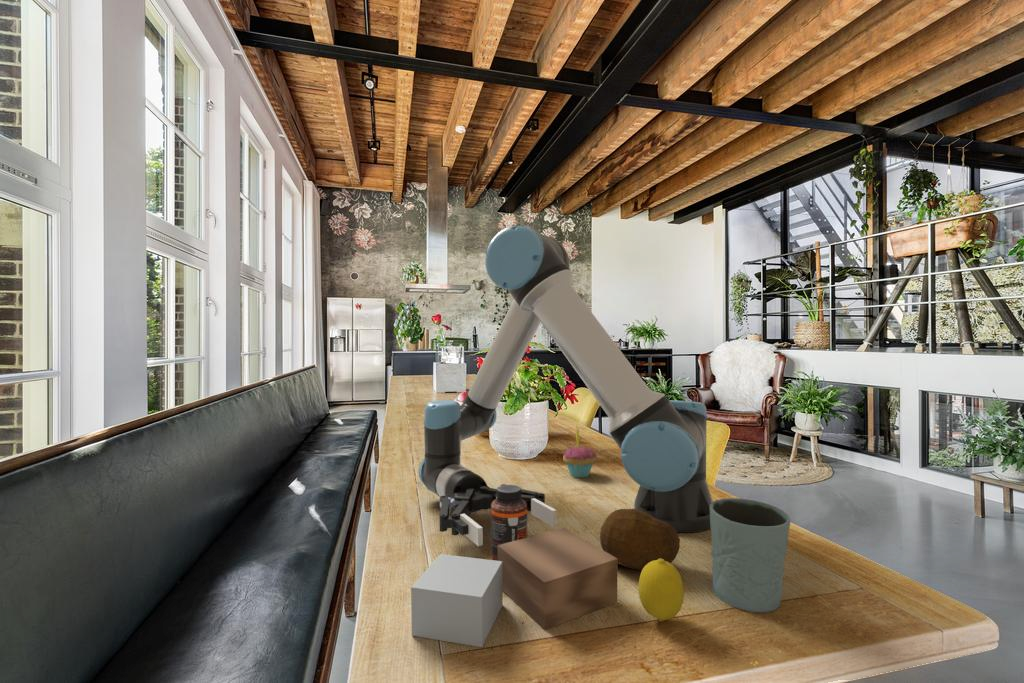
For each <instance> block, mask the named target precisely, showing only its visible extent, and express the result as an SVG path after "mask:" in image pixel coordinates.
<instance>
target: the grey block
mask: <svg viewBox="0 0 1024 683" xmlns="http://www.w3.org/2000/svg"><path fill="white" fill-rule="evenodd" d="M503 593H504V592H503V583H502V561H496V560H494V559H484V558H479V557H478V558H476V557H469V556H459V555H454V554H453V555H451V554H445V553H439V554H438V555H437V557H436V558H435V559H434V560H433V561H432V563H431V564H430V565H429V566H428V567H427V569H425V571H424V572H423V573H422V574H421V575H420V577H418V579H417V580H416V581H415V582H414V583H413V585H412V586H411V588H410V594H411V595H410V596H411V599H410V600H411V603H410V604H411V609H410V610H411V636H412V637H418V638H425V639H430V640H435V641H442V642H448V643H453V644H454V643H455V644H458V645H459V644H460V645H466V646H472V647H478V648H483V646H484V644H485V642H486V640H487V638H488V636H489V634H490V632H491V630H492V628H493V626H494V623H495V622H496V621H497V620H496V619H497V618H498V616H499V614H500V612H501V609H502V608H503V605H504V604H503V603H504V602H503V600H504V599H503Z"/></svg>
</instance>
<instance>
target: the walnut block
mask: <svg viewBox="0 0 1024 683" xmlns="http://www.w3.org/2000/svg"><path fill="white" fill-rule="evenodd" d="M497 550H498V561H502V583H503V593H505V595H506V596H508V597H509V598H510V599H511V600H512V601H513V602H514V603H515V604H516V605H517V606H518V607H519V608H520V609H521V610H523V612H525V613H526V614H527V616H529V617H530V618H531V619H532V620H533V621H534V622H535V623H536V624H538V625H539V627H541V629H543V630H544V631H546V630H548V629H551V628H553V627H556V626H559V625H561V624H564V623H566V622H569V621H572V620H574V619H577V618H580V617H582V616H586V615H588V614H590V613H593V612H595V611H597V610H601V609H603V608H605V607H608V606H610V605H613V604H616V603H618V565H619V564H618V559H617V558H616V557H614V556H612V555H610V554H609V553H607V552H605V551H604V550H603V549H602V548H600V547H598V546H597V545H595V544H593V543H592V542H590V541H588V540H587V539H584V538H583V537H582V536H580V535H578V534H576V533H574V532H573V531H571V530H569V529H568V528H566V527H562V528H558V529H554V530H550V531H546V532H543V533H539V534H538V533H537V534H535V535H532V536H527V538H523V539H519V540H516V541H512V542H508V543H504V544H501V545H497Z"/></svg>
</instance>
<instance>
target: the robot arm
mask: <svg viewBox="0 0 1024 683" xmlns="http://www.w3.org/2000/svg"><path fill="white" fill-rule="evenodd" d="M485 256H486V257H485V260H484V261H485V262H484V264H485V269H486V272H487V275H488V277H489V278H490V281H492V282H493V283H494V284H495V285H497V287H499V288H500V289H503V290H505V291H506V290H507V291H508V292H509V294H510V295H511V296H512V298H513V299H512V302H511V304H510V306H509V308H508V310H507V312H506V314H505V316H504V318H503V320H502V322H501V325H500V326H499V328H498V331H497V333H496V335H495V336H494V338H493V340H492V343H491V345H490V347H489V349H488V351H487V353H486V355H485V357H484V359H483V361H482V364H480V368H479V370H478V372H477V374H476V375H475V378H474V379H473V381H472V384H471V386H470V388H469V390H468V392H467V394H466V396H465V398H464V400H463V401H462V403H461V405H460V403H459V401H457V400H451V399H450V400H447V399H446V400H444V399H443V400H442V399H441V400H433V401H430V402H427V403H426V404H425V407H424V419H423V426H424V427H423V430H424V432H423V435H424V458H423V459H422V461H421V462H420V465H419V467H418V478H419V480H420V481H421V483H423V485H424V486H425V488H426V489H427V490H428V491H430V492H432V493H434V495H435V494H436V495H437V497H439V531H440V532H442V533H443V532H447V531H448V529H451V535H452V536H459V535H461V536H465V537H466V538H467V539H469V540H470V541H471V542H472V543H474V544H475V545H476V546H477V547H480V546H483V544H484V543H483V540H484V538H483V537H484V535H483V534H484V533H483V532H484V531H483V530H484V529H483V528H484V527H483V526H481V525H480V524H479V523H477V521H475V520H474V519H472V518H471V515H472V514H474V513H475V512H478V511H481V510H482V511H483V510H484V511H487V510H491V504H492V502H493V501H494V500H495V499H497V498H498V497H497V496H496V494H497V488H493V487H489V486H488V484H487V482H486V480H485V479H484V478H483V477H482V476H480V475H479V474H477V473H475V472H474V471H472V470H471V469H469V468H467V467H465V466H463V465H461V452H462V451H461V446H462V445H461V442H462V441H464V440H466V439H468V438H471V437H475V436H477V435H480V434H483V433H485V432H487V431H488V430H489V429H491V428H492V427H494V425H495V423H496V422H497V407H498V405H499V403H500V402H501V400H502V397H503V396H504V394H505V392H506V390H507V388H508V386H509V385H510V383H511V381H512V379H513V376H514V375H515V372H516V371H517V369H518V367H519V365H520V363H521V361H522V359H523V357H524V356H525V354H526V351H527V350H528V348H529V345H530V344H531V342H532V339H533V338H534V336H535V334H536V333H537V330H538V328H539V326H540V325H541V324H542V326H543V327H544V328H545V331H546V332H547V333H548V334H549V336H550V337H551V338H552V340H553V341H554V343H555V344H556V345H557V347H558V348H559V349H560V352H562V354H563V355H564V356H565V358H566V359H567V361H568V362H569V363H570V365H571V367H572V368H573V369H574V371H575V372H576V374H578V376H579V378H580V379H581V380H582V381H583V383H584V384H585V386H586V387H587V389H588V391H589V392H590V393H591V394H592V395H593V397H594V399H595V400H596V402H597V403H598V404H599V406H600V407H601V408H602V410H603V411H604V412H605V414H606V416H607V417H608V418H609V426H608V433H609V435H610V436H611V437H612V438H613V440H614V442H615V443H616V444H617V446H618V447H619V449H620V457H621V462H622V466H623V468H624V470H625V472H626V474H627V475H628V476H629V477H630V478H631V479H632V480H633V481H634V482H635V483H636V484H638V485H639V487H638V490H637V493H636V497H635V499H634V503H633V505H634V508H633V509H638V510H642V511H644V512H646V513H648V514H650V515H651V516H652V517H654V518H656V519H659V520H661V521H664V522H666V523H669V524H671V525H672V527H673V528H674V529H675V530H676V531H677V533H696V532H702V531H706V530H707V531H708V530H709V529H711V527H710V504H711V503H712V502H714V500H713V498H712V495H711V493H710V490H709V489H710V488H709V486H708V483H707V423H708V422H707V421H708V419H709V416H708V414H707V407H706V405H705V403H702V402H699V401H689V400H688V401H687V400H674V399H673V400H672V399H671V400H670V399H669V398H668V397H667V396H666V394H665V393H663V392H658V391H653V390H651V389H650V388H649V386H648V385H647V384H646V383H645V381H644V380H643V378H642V377H641V376H640V375H639V373H638V372H637V371H636V369H635V368H634V366H633V365H632V363H630V361H629V360H628V358H626V356H625V354H624V353H623V352H622V351H621V350H620V348H619V347H618V345H617V344H616V343H615V342H614V340H613V339H612V337H611V336H610V335H609V333H608V332H607V331H606V329H605V328H604V327H603V325H602V324H601V323H600V322H599V320H598V319H597V317H596V316H595V315H594V313H593V312H592V311H591V310H590V308H589V307H588V305H587V304H586V303H585V301H584V300H583V299H582V297H581V296H580V295H579V293H578V292H577V291H576V289H575V288H574V287H573V285H572V279H573V271H572V270H571V269H570V264H571V263H570V257H569V254H568V252H567V249H566V248H565V247H564V246H563V244H562V242H559V241H558V240H557V239H555V238H553V237H551V236H547V235H545V234H543V233H541V232H539V231H537V230H536V229H534V228H532V227H530V226H524V225H523V226H522V225H513V226H512V225H511V226H507V227H505V228H503V229H502V230H500V231H499V232H497V234H495V235H494V237H493V238H492V239H491V241H490V243H489V244H488V247H487V250H486V254H485ZM502 485H507V484H505V483H504V484H501V485H500V486H502ZM521 494H522V495H521V498H522V499H523V500H524V501H525V502H526V504H527V512H530V515H532V516H534V517H535V518H537V519H538V520H540V521H542V522H543V523H545V524H547V525H548V526H550V527H552V528H555V527H557V509H555V508H554V507H551V505H549V504H546V494H545V493H543V492H537V491H532V490H529V489H528V490H527V489H523V488H521ZM452 508H453V509H454V510H453V512H452V514H451V515H450V512H451V511H452Z"/></svg>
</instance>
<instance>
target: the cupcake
mask: <svg viewBox="0 0 1024 683" xmlns="http://www.w3.org/2000/svg"><path fill="white" fill-rule="evenodd" d="M575 427H576V429H575V435H576V436H575V438H576V445H575V446H571V447H569V448H567V449H566V450H565V451H564V452H563V457H562V460H563V461H564V463H565V464H566V465H567V468H568V472H569V474H570V476H571V477H573V478H580V479H581V478H586V477H587V478H588V477H589V476H590V473H591V469H592V466H593V465H594V464H595V463H597V461H598V457H597V456H598V455H597V453H596V452H595V451H594V450H593V449H591V448H589V447H586V446H580V435H579V434H580V433H579V432H580V431H579V429H578V425H576V426H575Z"/></svg>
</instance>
